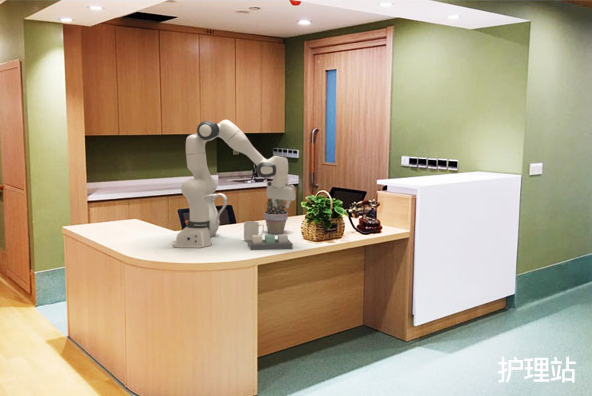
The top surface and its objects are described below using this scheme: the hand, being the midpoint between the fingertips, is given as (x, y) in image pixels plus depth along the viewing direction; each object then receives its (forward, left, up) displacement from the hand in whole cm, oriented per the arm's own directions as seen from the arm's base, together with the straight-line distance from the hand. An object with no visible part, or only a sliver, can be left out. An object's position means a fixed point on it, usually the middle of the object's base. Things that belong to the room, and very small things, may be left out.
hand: (281, 207), depth 343 cm
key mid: (-7, -1, -20) cm, 21 cm away
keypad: (-6, -1, -23) cm, 24 cm away
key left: (-14, -1, -20) cm, 25 cm away
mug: (-13, +17, -23) cm, 32 cm away
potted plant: (+5, +39, -23) cm, 46 cm away
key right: (+1, -1, -20) cm, 20 cm away
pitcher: (-38, +33, -23) cm, 56 cm away
